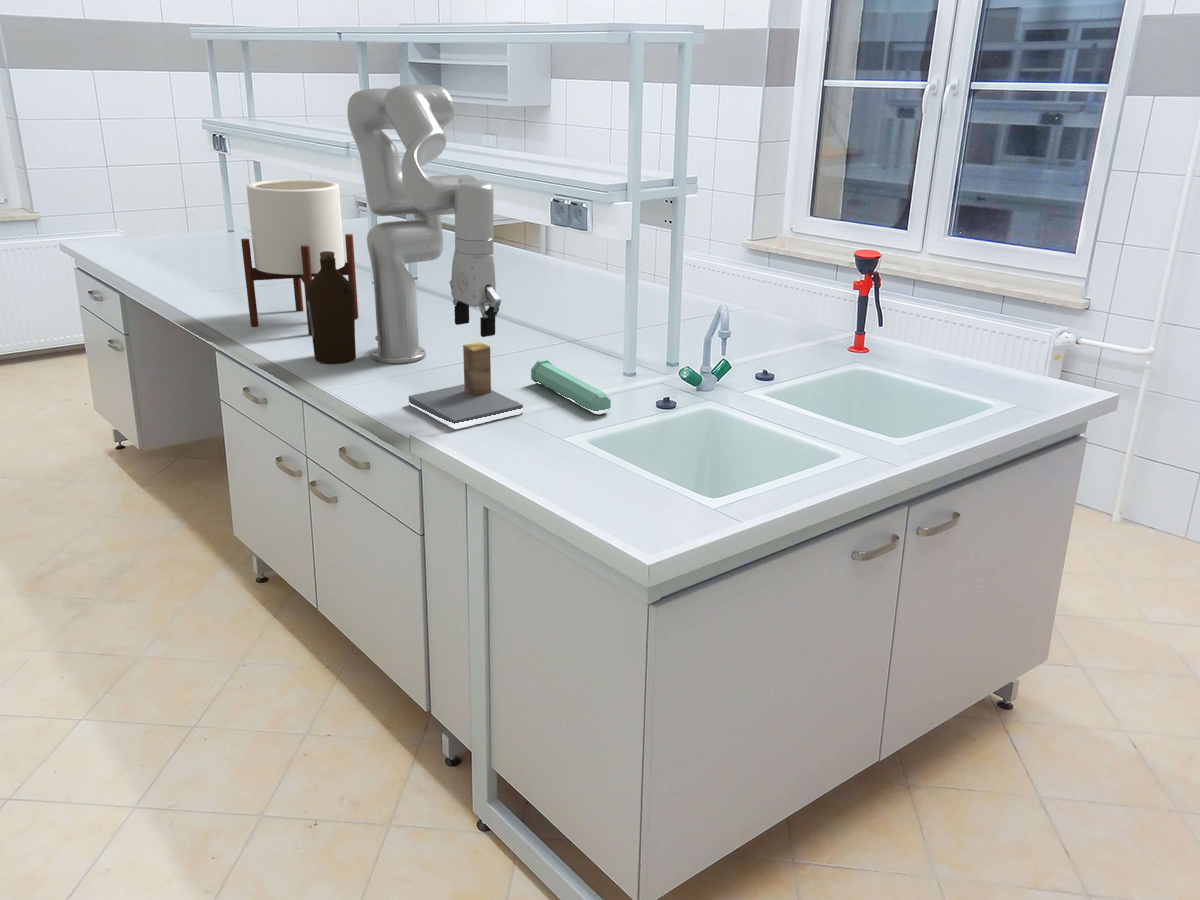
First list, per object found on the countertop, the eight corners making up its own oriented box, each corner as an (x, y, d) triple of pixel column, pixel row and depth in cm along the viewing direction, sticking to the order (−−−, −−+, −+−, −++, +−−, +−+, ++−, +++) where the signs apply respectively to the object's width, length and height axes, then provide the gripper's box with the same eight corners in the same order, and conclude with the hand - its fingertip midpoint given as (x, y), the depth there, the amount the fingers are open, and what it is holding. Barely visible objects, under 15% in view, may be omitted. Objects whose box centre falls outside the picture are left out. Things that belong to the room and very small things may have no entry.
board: (409, 405, 202) (408, 395, 201) (474, 390, 211) (474, 382, 210) (454, 430, 189) (454, 420, 188) (522, 414, 198) (522, 404, 198)
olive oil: (363, 352, 235) (356, 248, 226) (352, 365, 226) (344, 257, 216) (319, 351, 235) (310, 247, 226) (306, 364, 226) (296, 256, 216)
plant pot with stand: (365, 317, 266) (356, 182, 253) (314, 337, 247) (301, 192, 233) (298, 308, 274) (285, 177, 260) (243, 327, 254) (226, 186, 241)
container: (611, 387, 197) (548, 354, 216) (588, 402, 195) (526, 367, 214) (619, 410, 200) (556, 376, 219) (597, 425, 198) (535, 389, 217)
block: (464, 391, 205) (463, 345, 201) (480, 387, 207) (479, 342, 203) (474, 396, 202) (473, 349, 198) (491, 392, 204) (490, 346, 200)
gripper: (435, 239, 197) (437, 321, 204) (482, 257, 185) (482, 343, 192) (467, 236, 201) (467, 316, 208) (514, 253, 189) (513, 337, 196)
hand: (474, 329), depth 200 cm, fingers open, 9 cm apart
